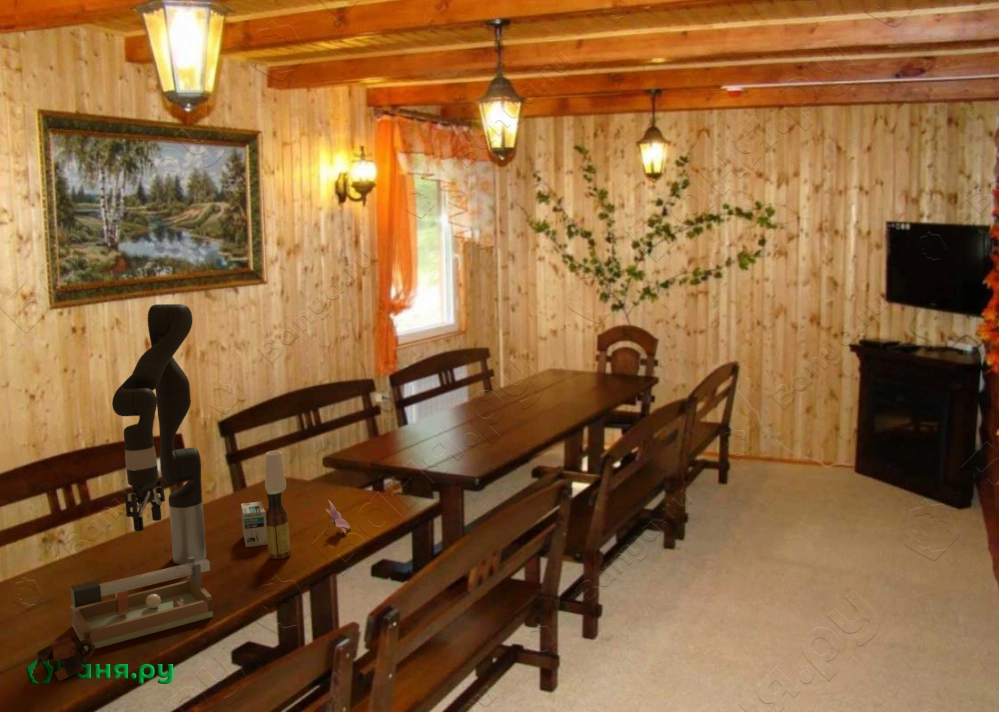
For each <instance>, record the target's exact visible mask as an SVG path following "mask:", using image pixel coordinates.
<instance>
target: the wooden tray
mask: <svg viewBox="0 0 999 712" xmlns="http://www.w3.org/2000/svg"><path fill="white" fill-rule="evenodd" d="M191 562H195V559H194V557H193V556H192V557H188V563H191ZM202 581H203V580H202V573H201V568H200V563H199V562H196V563H194V574H193V575H189V576H187V579H186V580H184V581H183V580H182V581H179V582H175V583H172V584H168V585H167V584H166V585H164V586H159V587H155V588H151V589H148V590H143V591H138V592H134V593H131V594H127V595H128V607H129V613H128V614H124V615H120V616H119V615H118V614H117V611H116V600H115V598H111V599H106V600H102V601H101V602H96V603H92V604H88V605H84V606H80V607H76V608H75V606H74V605H73V604H71V605H70V604H69V607H70V618H71V626H72V628H74V629H73V631H74V632H75V634H76V636H77V637H78V639H79V642H80V641H82V640H86V639H87V640H91V641H92V642H93V644H94V645H95V649H99V648H104V647H106V646H110V645H113V644H117V643H121V642H125V641H129V640H133V639H136V638H139V637H140V638H141V637H144V636H146V635H147V636H148V635H150V634H154V633H158V632H162V631H165V630H170V629H173V628H177V627H180V626H183V625H184V626H185V625H188V624H191V623H195V622H199V621H201V620H202V621H203V620H207V619H209V618H212V617H214V609H213V597H212V595H211V594H210V593H209V591H207V590H206V589H205V588H204V587H203V584H202ZM151 594H157V595H159V597H160V598H161V603H160V605H159V606H158V607H157V608H154V609H152V608H149V607H148V606H147V605H146V599H147V597H148V596H149V595H151ZM83 649H84V650H85V651H86V652H87V651H88V646H84V647H83Z"/></svg>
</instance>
